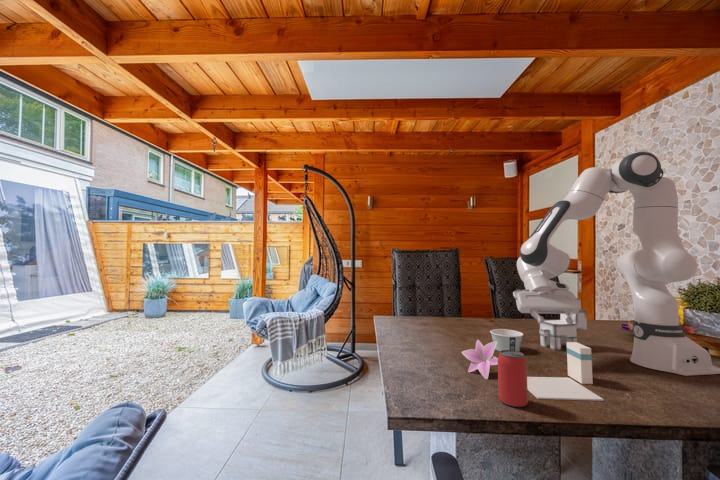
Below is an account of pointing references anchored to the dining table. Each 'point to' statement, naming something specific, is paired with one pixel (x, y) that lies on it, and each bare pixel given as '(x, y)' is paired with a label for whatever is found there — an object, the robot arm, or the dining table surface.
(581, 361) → the card box
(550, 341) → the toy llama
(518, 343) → the food container
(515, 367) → the beer can
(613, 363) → the dining table surface
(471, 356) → the lily
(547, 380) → the mat
